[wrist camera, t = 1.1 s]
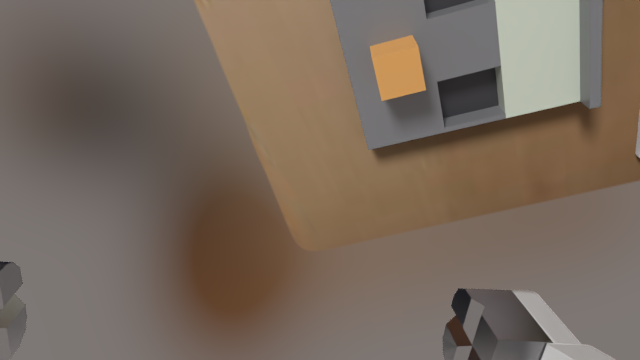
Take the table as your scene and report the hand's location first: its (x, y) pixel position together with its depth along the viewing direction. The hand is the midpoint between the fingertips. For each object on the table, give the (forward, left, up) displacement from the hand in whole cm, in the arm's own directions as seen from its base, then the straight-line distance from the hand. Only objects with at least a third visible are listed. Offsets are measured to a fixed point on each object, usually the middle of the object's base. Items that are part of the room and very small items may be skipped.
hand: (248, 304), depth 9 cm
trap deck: (-11, +8, -40) cm, 42 cm away
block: (-5, +8, -38) cm, 39 cm away
